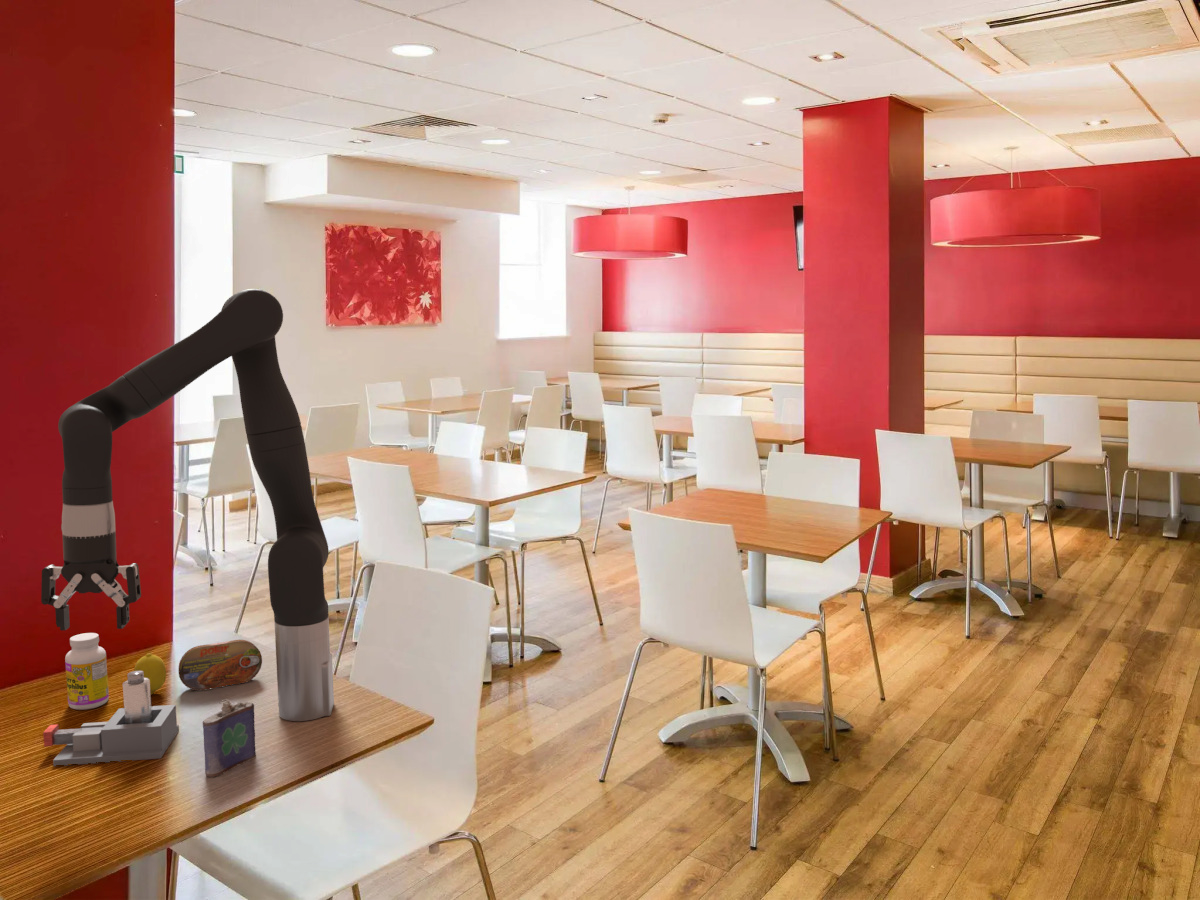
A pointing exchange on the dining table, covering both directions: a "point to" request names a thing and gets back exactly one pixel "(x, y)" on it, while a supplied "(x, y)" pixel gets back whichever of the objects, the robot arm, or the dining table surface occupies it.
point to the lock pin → (63, 735)
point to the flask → (229, 738)
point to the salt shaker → (137, 699)
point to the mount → (122, 739)
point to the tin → (219, 664)
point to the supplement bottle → (86, 672)
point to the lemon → (152, 670)
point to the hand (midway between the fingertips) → (93, 628)
